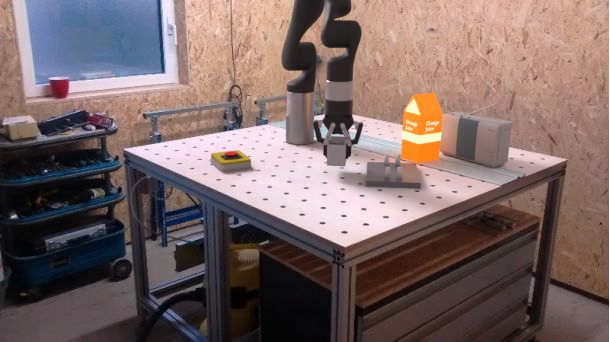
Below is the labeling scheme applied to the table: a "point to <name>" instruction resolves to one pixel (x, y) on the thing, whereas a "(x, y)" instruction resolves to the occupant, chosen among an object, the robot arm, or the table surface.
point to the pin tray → (392, 174)
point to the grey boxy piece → (336, 151)
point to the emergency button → (231, 161)
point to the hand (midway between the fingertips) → (337, 157)
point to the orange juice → (422, 129)
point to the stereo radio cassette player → (476, 137)
